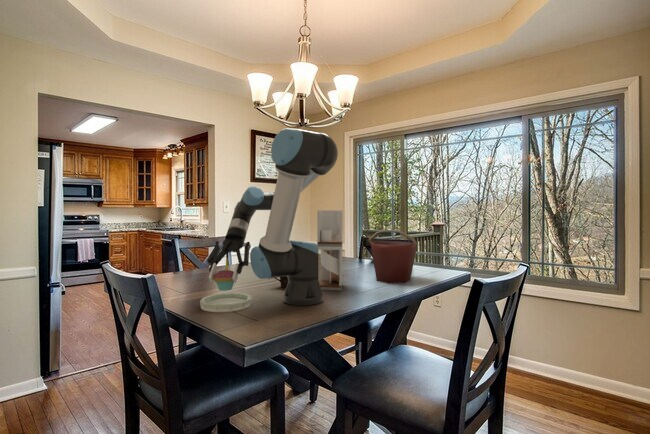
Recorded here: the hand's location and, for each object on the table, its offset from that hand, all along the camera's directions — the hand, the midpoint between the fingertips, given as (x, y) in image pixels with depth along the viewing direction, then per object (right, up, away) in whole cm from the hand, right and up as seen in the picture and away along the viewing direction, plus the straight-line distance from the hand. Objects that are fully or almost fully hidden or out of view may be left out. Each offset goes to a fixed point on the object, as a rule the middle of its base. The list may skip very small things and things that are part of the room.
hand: (222, 280), depth 127 cm
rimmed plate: (+1, -10, +3) cm, 10 cm away
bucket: (+71, -9, +51) cm, 88 cm away
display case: (+39, -9, +34) cm, 53 cm away
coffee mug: (+19, -9, +35) cm, 41 cm away
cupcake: (0, -4, +3) cm, 5 cm away
